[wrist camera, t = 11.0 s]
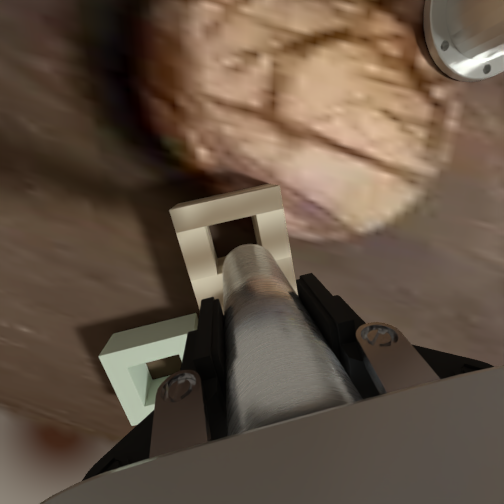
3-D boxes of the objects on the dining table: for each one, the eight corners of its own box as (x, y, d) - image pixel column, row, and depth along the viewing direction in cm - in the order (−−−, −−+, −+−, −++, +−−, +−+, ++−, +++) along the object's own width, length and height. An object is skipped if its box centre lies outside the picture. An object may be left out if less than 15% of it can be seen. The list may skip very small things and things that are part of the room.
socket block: (177, 203, 27) (169, 210, 22) (268, 183, 28) (279, 185, 23) (214, 330, 32) (214, 357, 27) (291, 310, 33) (304, 333, 28)
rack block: (113, 333, 30) (98, 356, 27) (196, 312, 31) (193, 332, 27) (141, 397, 34) (131, 425, 30) (216, 377, 34) (216, 402, 30)
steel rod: (216, 250, 16) (210, 428, 5) (270, 238, 17) (382, 382, 5) (229, 299, 18) (247, 533, 6) (280, 287, 18) (387, 493, 6)
